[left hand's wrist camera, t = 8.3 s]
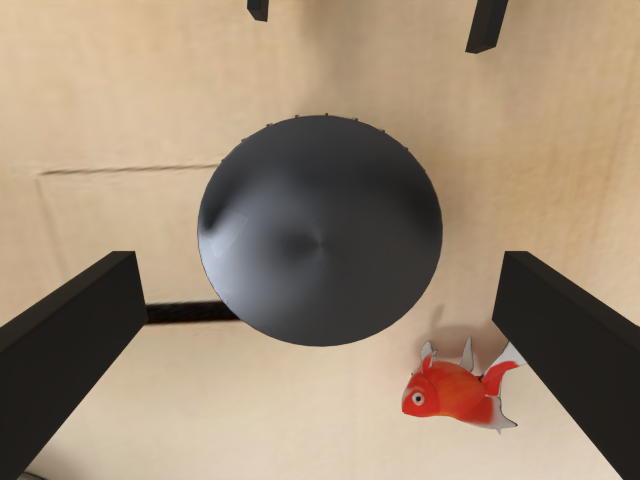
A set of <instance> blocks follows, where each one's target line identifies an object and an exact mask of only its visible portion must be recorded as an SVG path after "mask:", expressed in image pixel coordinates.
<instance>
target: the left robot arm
mask: <svg viewBox="0 0 640 480" xmlns="http://www.w3.org/2000/svg"><path fill="white" fill-rule="evenodd" d="M147 321H148V316H147V311H146V305H145V300H144V295H143V290H142V285H141V280H140V274H139V269H138V264H137V259H136V254H135V251H112V252H111V253H109V254H108V255H106V256H105V257H104V258H102V259H101V260H99V261H98V262H96V263H95V264H93V265H92V266H90V267H89V268H87V269H86V270H84V271H83V272H81V273H80V274H78V275H77V276H76V277H74V278H73V279H71V280H70V281H68V282H67V283H65V284H64V285H62V286H61V287H59V288H58V289H56V290H55V291H53V292H52V293H50V294H49V295H48V296H46V297H45V298H43V299H42V300H40V301H39V302H37V303H36V304H34V305H33V306H31V307H30V308H28V309H27V310H25V311H24V312H22V313H21V314H20V315H18V316H17V317H15V318H14V319H12V320H11V321H9V322H8V323H6V324H5V325H3V326H2V327H0V480H42V479H40V478H37V477H35V476H32V475H29V474H25V473H23V472H24V470H25V469H26V468H27V467H28V466H29V464H30V463H31V462H32V461H33V459H34V458H35V457H36V456H37V455H38V453H39V452H40V451H41V450H42V448H43V447H44V446H45V445H46V444H47V442H48V441H49V440H50V439H51V438H52V436H53V435H54V434H55V433H56V431H57V430H58V429H59V428H60V427H61V425H62V424H63V423H64V422H65V420H66V419H67V418H68V417H69V416H70V414H71V413H72V412H73V411H74V410H75V408H76V407H77V406H78V405H79V403H80V402H81V401H82V400H83V399H84V397H85V396H86V395H87V394H88V392H89V391H90V390H91V389H92V388H93V386H94V385H95V384H96V383H97V382H98V380H99V379H100V378H101V377H102V375H103V374H104V373H105V372H106V371H107V369H108V368H109V367H110V366H111V364H112V363H113V362H114V361H115V360H116V358H117V357H118V356H119V355H120V354H121V352H122V351H123V350H124V349H125V347H126V346H127V345H128V344H129V343H130V341H131V340H132V339H133V338H134V336H135V335H136V334H137V333H138V332H139V330H140V329H141V328H142V327H143V326H144V324H145V323H146V322H147ZM492 321H493V322H494V323H495V324H496V326H497V327H498V328H499V329H500V330H501V332H502V333H503V334H504V335H505V336H506V338H507V339H508V340H509V341H510V343H511V344H512V345H513V346H514V347H515V349H516V350H517V351H518V352H519V354H520V355H521V356H522V357H523V358H524V360H525V361H526V362H527V363H528V364H529V366H530V367H531V368H532V369H533V371H534V372H535V373H536V374H537V375H538V377H539V378H540V379H541V380H542V382H543V383H544V384H545V385H546V386H547V388H548V389H549V390H550V391H551V392H552V394H553V395H554V396H555V397H556V399H557V400H558V401H559V402H560V403H561V405H562V406H563V407H564V408H565V410H566V411H567V412H568V413H569V414H570V416H571V417H572V418H573V419H574V420H575V422H576V423H577V424H578V425H579V427H580V428H581V429H582V430H583V431H584V433H585V434H586V435H587V436H588V438H589V439H590V440H591V441H592V442H593V444H594V445H595V446H596V447H597V448H598V450H599V451H600V452H601V453H602V455H603V456H604V457H605V458H606V459H607V461H608V462H609V463H610V464H611V466H612V467H613V468H614V469H615V470H616V472H617V473H618V474H619V475H620V476H621V478H622V479H623V480H640V327H639V326H637V325H635V324H634V323H632V322H631V321H629V320H628V319H626V318H625V317H623V316H622V315H620V314H619V313H618V312H616V311H615V310H613V309H612V308H610V307H609V306H607V305H606V304H604V303H603V302H601V301H600V300H598V299H597V298H595V297H594V296H592V295H591V294H590V293H588V292H587V291H585V290H584V289H582V288H581V287H579V286H578V285H576V284H575V283H573V282H572V281H570V280H569V279H567V278H566V277H564V276H563V275H562V274H560V273H559V272H557V271H556V270H554V269H553V268H551V267H550V266H548V265H547V264H545V263H544V262H542V261H541V260H539V259H538V258H536V257H535V256H534V255H532V254H531V253H529V252H528V251H505V254H504V259H503V264H502V269H501V274H500V280H499V285H498V290H497V295H496V300H495V305H494V311H493V316H492Z"/></svg>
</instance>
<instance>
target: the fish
mask: <svg viewBox="0 0 640 480" xmlns="http://www.w3.org/2000/svg"><path fill="white" fill-rule="evenodd" d="M437 350H438V349H437ZM437 350H436V351H433V349H432V346H431V343H430V342H426V343H425V345H424V346H423V348H422V350H421V353H420V356H421V360H422V364H421V367H420V368H418V369H417V370H416V371H415V372H414V374H412V373H411V374H412V377H411V379H410V380H409V382H408V384H407V386H406V389H405V391H404V394H403V397H402V412H404V414H408V415H412V416H416V417H430V416H450V417H453V418H456V419H457V420H460V421H462V422H465V423H468V424H471V425H475V426H478V427H482V428H487V429H496V430H497V431H498V432H499V434H500V435H501V432H500V429H502V428H509V427H516V426H518V425H517V424H516V423H514V422H513V421H511V420H509V419H507V418H506V417H505V416H504V415H503V414H502V411H501V399H500V393H501V382H502V377H503V375H504V373H505V372H506V371H507V370H510V369H513V368H516V367H519V366H522V365H525V364H528V363H527V362H526V361H525V360H524V358H523V357H522V356H521V355H520V354H519V352H518V351H517V350H516V349H515V347H514V346H513V345H512V344H511V343H510V341H508V343H507V345H506V347H505V348H504V350H503V352H502V354H501V355H500V356H499V357H498V359H497V360H496V361H495V362H494V363H493V364H492V365H491V366H490V367H489V368H488V369H487V370H486V371H485V372H484V373H483V374H482V375H481V376H474V375H472V374H471V371H472V370H473V367H474V365H473V356H472V347H471V337H469V338H468V340H467V343H466V346H465V349H464V352H463V357H462V361H461V364H460V365H459V366H458V365H456V364H454V363H450V362H446V361H438V360H437V361H435V360H436V353H437Z"/></svg>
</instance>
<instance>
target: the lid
mask: <svg viewBox="0 0 640 480" xmlns="http://www.w3.org/2000/svg"><path fill="white" fill-rule="evenodd" d="M357 120H358V119H357V118H353V119H349V118H344V117H338V116H332V115H328V113H325V115H310V116H300V117H299V115H296V116H295V118H292V119H288V120H284V121H280V122H278V123H275V124H272V123H271V124H267V125H266V126H267V127H265V128H263V129H262V130H260V131H258V132H256V133H254V134H253V135H251V136H249V137H248V138H245V139H243V140H241V141H242V142H241V143H240V144H239V145H238V146H236V147H235V148H234V149H233V150H232V151H231V152H230V153H229V154H228V155H227V156H226V157H225V158H224V159H222V162H221V164H220V165H219V166H218V168H217V169H216V171H215V172H214V174H213V176H212V177H211V179H210V181H209V183H208V185H207V187H206V190H205V193H204V195H203V198H202V201H201V205H200V210H199V215H198V229H197V235H198V247H199V252H200V256H201V261H202V264H203V267H204V269H205V272H206V275H207V277H208V279H209V281H210V283H211V285H212V286H213V288H214V290H215V291H216V293H217V294H218V296H219V297H220V298H221V300H222V301H223V302H224V303H225V304H226V306H227V307H228V308H229V309H230V310H231V311H232V312H233V313H234V314H235V315H237V316H238V317H239V318H240V319H241V320H242V321H244V322H245V323H247V324H248V325H250V326H251V327H253V328H254V329H256V330H258V331H260V332H262V333H264V334H265V335H267V336H270V337H273V338H275V339H278V340H280V341H284V342H288V343H292V344H297V345H304V346H318V347H325V346H337V345H343V344H348V343H352V342H356V341H359V340H362V339H365V338H368V337H370V336H372V335H375V334H377V333H379V332H381V331H382V330H384V329H386V328H388V327H389V326H391V325H392V324H394V323H395V322H396V321H398V320H399V319H400V318H402V317H403V316H404V315H405V314H406V313H407V312H408V311H409V310H410V309H411V308H412V307H413V306H414V305H415V303H416V302H417V301H418V300H419V299H420V297H421V296H422V295H423V293H424V291H425V290H426V288H427V287H428V285H429V283H430V281H431V279H432V277H433V275H434V273H435V270H436V267H437V264H438V261H439V257H440V252H441V246H442V236H443V224H442V215H441V209H440V205H439V201H438V197H437V194H436V192H435V190H434V187H433V185H432V183H431V180H430V179H429V177H428V175H427V174H426V172H425V169H423V167H422V166H421V165H420V163H419V162H418V161H417V160H416V159H415V157H414V156H413V155H412V154H411V153H410V152H409V151H408V148H407V147H404V146H402V145H401V144H400V143H399V142H398V141H396V140H395V139H393V138H392V137H390V136H389V135H388V134H386V133H385V131H384V130H382V129H376V128H374V127H372V126H370V125H368V124H365V123H362V122H359V121H357Z"/></svg>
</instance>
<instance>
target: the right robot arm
mask: <svg viewBox="0 0 640 480" xmlns="http://www.w3.org/2000/svg"><path fill="white" fill-rule="evenodd" d="M507 3H508V0H478V2H477V6H476V10H475V14H474V18H473V22H472V26H471V30H470V34H469V38H468V42H467V47H466V51H465V52H468V53H475V54H477V53H480V52H483V51H485V50H488V49H491V48H494V47H496V44H497V40H498V37H499V33H500V29H501V26H502V22H503V18H504V14H505V11H506V7H507ZM268 4H269V0H248V1H247V9H248V10H249V12H250V13H251V15H252V16H253V17H254V19H255V20H258V21H265V22H267V18H268Z"/></svg>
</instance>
